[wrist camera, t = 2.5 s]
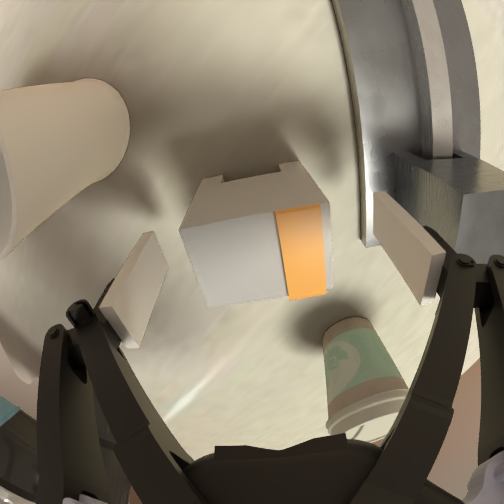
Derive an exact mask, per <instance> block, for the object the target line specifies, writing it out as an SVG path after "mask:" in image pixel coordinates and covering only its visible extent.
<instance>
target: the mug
mask: <svg viewBox="0 0 504 504" xmlns="http://www.w3.org/2000/svg"><path fill="white" fill-rule="evenodd" d="M129 136H130V120H129V114H128V110H127V107H126V105H125V102H124V100H123V99H122V97H121V96H120V94H119V93H118V92H117V91H116V90H115V89H114V88H113V87H112V86H111V85H109V84H108V83H106V82H104V81H101V80H98V79H91V78H87V79H80V80H77V81H74V82H67V83H53V84H43V85H34V86H26V87H20V88H13V89H8V90H2V91H0V260H2V259H3V258H5V257H6V256H7V255H8V254H9V253H10V252H11V251H12V250H13V249H14V248H15V247H16V246H17V245H18V244H19V243H20V242H21V241H22V240H23V239H24V238H26V237H27V236H28V235H29V234H30V233H31V232H32V231H33V230H34V229H35V228H37V227H38V226H39V225H40V224H41V223H42V222H43V221H45V220H46V219H47V218H48V217H49V216H50V215H52V214H53V213H54V212H55V211H56V210H58V209H59V208H60V207H61V206H63V205H64V204H65V203H66V202H68V201H69V200H70V199H71V198H73V197H74V196H75V195H77V194H78V193H79V192H81V191H82V190H83V189H85V188H86V187H87V186H89V185H90V184H92V183H95V182H98V181H100V180H102V179H104V178H105V177H107V176H108V175H109V174H111V173H112V172H113V171H114V170H115V169H116V167H117V166H118V165H119V163H120V162H121V160H122V158H123V156H124V154H125V152H126V149H127V146H128V142H129Z"/></svg>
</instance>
